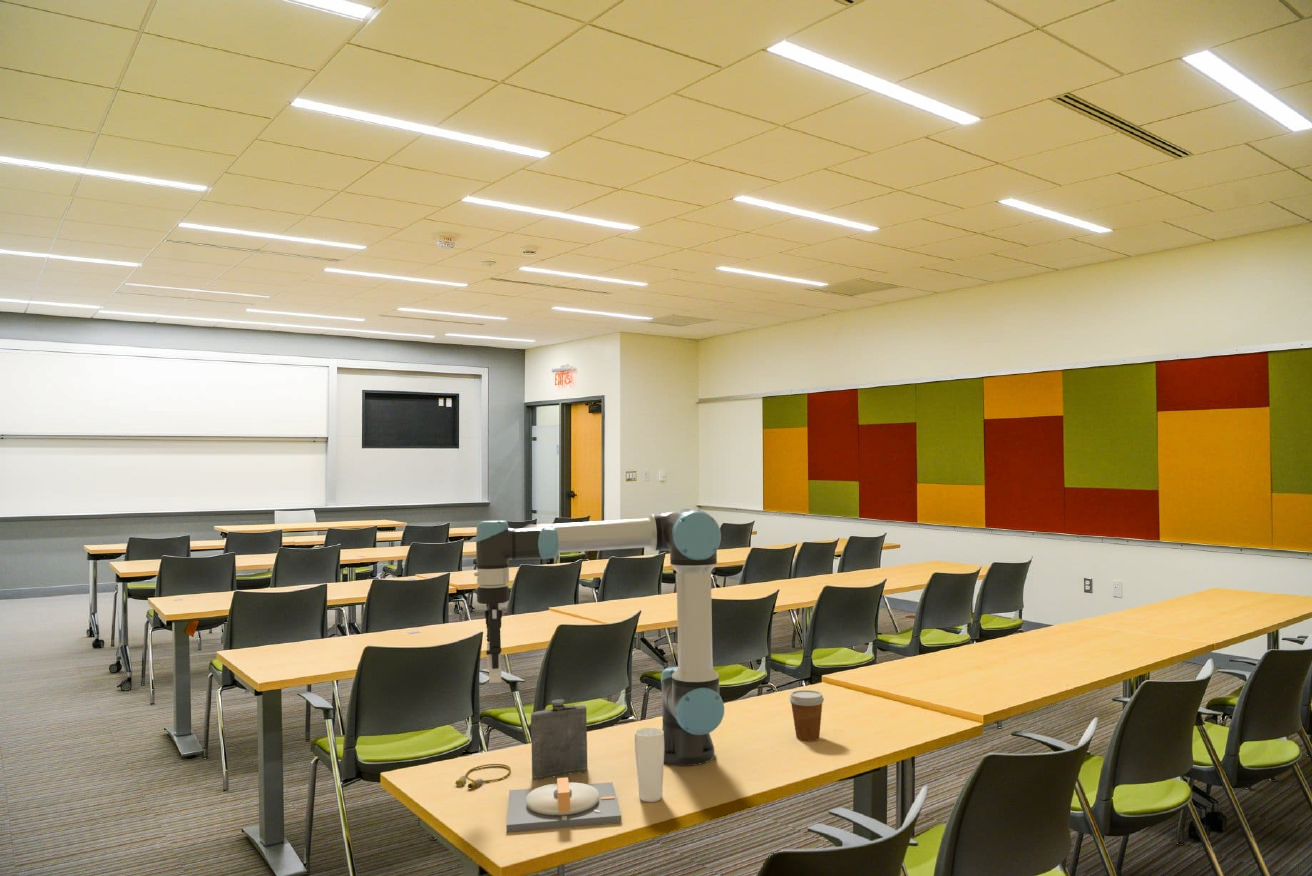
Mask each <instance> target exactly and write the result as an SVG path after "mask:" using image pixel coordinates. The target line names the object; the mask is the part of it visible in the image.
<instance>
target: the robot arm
mask: <svg viewBox="0 0 1312 876" xmlns="http://www.w3.org/2000/svg"><path fill="white" fill-rule="evenodd" d="M475 538H476V539H475V548H476V549H475V551H476V570H477V572H473V573H474V574H473V576H474V577H477V578H476V584H477V586H478V587H477V588H476V603H478V604H480V605H486V609H484V619H485V624H486V641H487V643H486V651H485V652H486V653H485V654H486V661H487V662H486V663H487V665H486V666H487V669H486V670H487V671H488V673H489V674H488V678H489V679H488V681H489V682H488V683H489V684H494V683H496V684H497V683H502V647H501V645H502V644H501V628H502V619H503V611H502V608H499V604H504V603H505V604H506V603H508V602H509V601H510V588H509V586H508V585H509V583H510V567H509V565H510V563H509V562H510V561H509V560H511V561H512V560H513V561H515V560H546V559H555V558H557V557H558V556H559V554H560V553H575V552H576V553H577V552H590V551H591V552H592V551H593V552H594V551H609V550H625V549H626V550H627V549H641V548H649V549H651V550H652V551H657V552H658V551H669V552H670V553H669V555H670V556H669V558H670V559H669V561H670V564H669V565H670V566H671V567H672V568H673V569H674V570H675V572H676V602H677V603H676V611H677V612H676V615H677V616H676V617H677V618H676V619H677V624H676V625H677V627H676V628H677V666H673V667H667V668H664V669H662V672H661V677H660V678H661V679H660V683H661V700H662V701H661V705H662V707H661V711H662V714H661V715H662V728H661V730H663V731H664V764H667V763H669V764H668V765H672V764H673V765H675V766H696V765H695V764H697V765H700V764H699V763H702V764H705V763H707V762H706V761H708V762H710V761H712V760H713V759H714V758H715V746H714V743H713V740H712V738H711V734H710V733H712V732H713V731H715V730H716V729H717V728H718V727H719V726H720V725H721V723H722V721H723V718H724V715H725V705H724V701H723V699H722V696H721V695H720V674H719V673H718V672H717V671H716V670H715V669H714V667H713V665H714V664H713V662H714V661H713V621H712V620H713V619H712V618H713V617H712V616H713V614H712V613H713V612H712V611H713V610H712V605H713V603H712V570H713V569H714V568H715V567H717V565H718V560H717V559H718V552H717V551H718V549H719V547H720V545H721V541H722V533H721V527H720V526H719V524H718V522H717V521H716V519H715V518H714V517H712V516H711V515H710V514H709V513H707V512H705V511H702V510H700V509H691V508H690V509H689V508H688V509H687V508H684V509H677V510H673V511H667V512H662V513H661V512H660V513H651V514H650V515H649V516H648V517H645V518H630V519H612V520H596V521H595V520H594V521H582V522H580V521H578V522H563V523H551V524H549V523H548V524H537V523H536V524H535V523H533V524H532V523H530V524H527V525H525V526H523V527H522V528H512V527H510V526H509V522H508V521H507V520H483V521H479V522H478V523H477V525H476V537H475ZM713 757H714V758H713ZM712 758H713V759H712ZM711 759H712V760H711ZM673 765H672V766H673Z"/></svg>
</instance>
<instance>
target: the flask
mask: <svg viewBox="0 0 1312 876" xmlns="http://www.w3.org/2000/svg"><path fill="white" fill-rule="evenodd" d="M565 702H566V701H565V699H562V698H560V699H559V698H558V699H553V700H551V705H552V708H548V709H543V710H538V711H533V712H531V714H530V724H531V725H530V726H531V727H530V728H531V729H530V730H531V732H530V733H531V735H530V736H531V779H532V780H533V781H542V780H546V779H551V778H554V777H553V776H555V777H560V776H565V775H564V774H566V775H570V774H569V773H573V774H578V772H581V773H585V772H584V771H586V772H587V771H588V769H589V768H588V736H587V735H588V731H587V730H588V728H587V725H588V724H587V722H588V721H587V720H588V719H587V705H565ZM550 777H551V778H550ZM545 778H546V779H545Z"/></svg>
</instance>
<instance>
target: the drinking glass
mask: <svg viewBox="0 0 1312 876" xmlns="http://www.w3.org/2000/svg"><path fill="white" fill-rule="evenodd" d="M634 752H635V763H636V773H637V782H638V797H639V799H640V800H641V801H642V802H646V803H655V802H658V801H660V800H662V798H663V784H664V783H663V782H664V764H665V763H664V731H663V730H662V728H658V727H643V728H639V729H636V730H635V731H634Z"/></svg>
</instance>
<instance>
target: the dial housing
mask: <svg viewBox="0 0 1312 876" xmlns="http://www.w3.org/2000/svg"><path fill="white" fill-rule="evenodd" d="M613 783H614V782H613V781H611V782H599V783H586V784H587V785H590V786H593V787H594V788H596V789H597V790H598V792H599V801H598V803H597V804H596V805H595V806H594V807H592V808H590V809H588V810H585V811H583V812H579V813H575V814H568V815H545V814H540V813H536V812H534V811H532V810H530V809H529V808H528V807H527V804H526V798H527V795H528V794H529V793H530V792H531V791H533V790H534V789H536V788H537V787H535V788H534V787H533V788H521V789H519V788H518V789H510V790H509V791H508V804H507V817H506V833H515V832H524V831H525V832H527V830H528V831H538V830H547V829H548V830H549V829H562V828H563V829H564V828H573V827H585V826H586V825H587V826H596V825H597V824H599V825H605V824H604V823H611V824H619V823H618V822H622V812H621V810H620V805H619V801H618V797H617V794H616V790H615V786H614V784H613Z"/></svg>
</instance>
